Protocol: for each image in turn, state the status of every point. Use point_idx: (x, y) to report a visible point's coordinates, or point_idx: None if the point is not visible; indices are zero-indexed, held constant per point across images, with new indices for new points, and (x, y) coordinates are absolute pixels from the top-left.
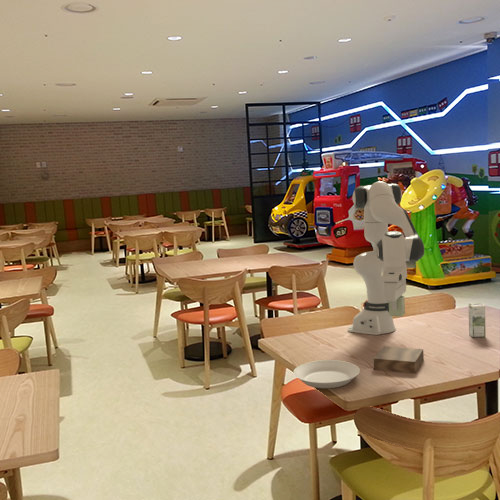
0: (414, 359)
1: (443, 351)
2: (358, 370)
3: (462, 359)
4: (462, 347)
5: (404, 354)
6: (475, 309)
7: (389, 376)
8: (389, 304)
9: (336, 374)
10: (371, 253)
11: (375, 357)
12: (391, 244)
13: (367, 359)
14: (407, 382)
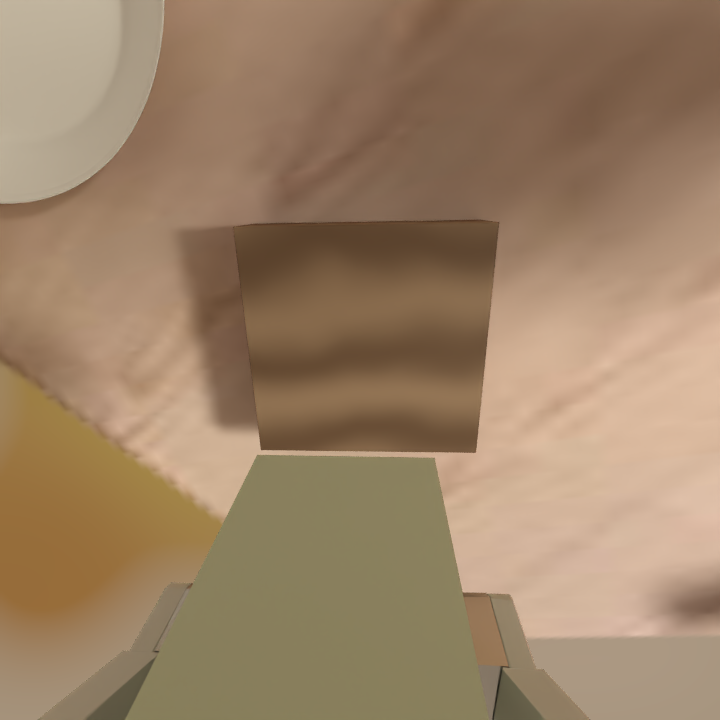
0: (295, 441)
1: (610, 479)
2: (72, 181)
3: (501, 551)
4: (676, 539)
5: (362, 381)
6: None
7: (196, 324)
8: (183, 618)
9: (80, 20)
10: None
11: (254, 235)
12: None
13: (415, 127)
14: (162, 409)
